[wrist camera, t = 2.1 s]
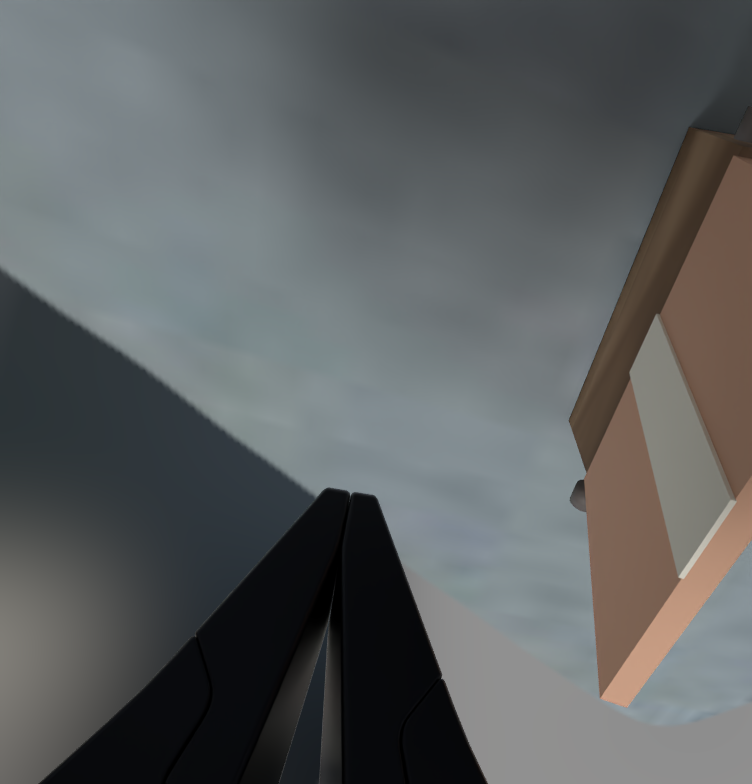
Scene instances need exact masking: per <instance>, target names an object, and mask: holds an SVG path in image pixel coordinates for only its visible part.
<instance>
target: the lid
mask: <svg viewBox="0 0 752 784" xmlns="http://www.w3.org/2000/svg"><path fill="white" fill-rule="evenodd" d="M629 374H630V381H629V383H628V385H627V387H626V389H625V391H624V394H623V396H622V398H621V400H620V402H619V404H618V407H617V409H616V411H615V413H614V415H613V417H612V420H611V422H610V424H609V426H608V428H607V430H606V433H605V435H604V437H603V439H602V441H601V443H600V446H599V448H598V450H597V452H596V454H595V456H594V459H593V461H592V463H591V465H590V467H589V469H588V472H587V474H586V476H585V478H584V483H585V497H586V511H587V525H588V539H589V553H590V567H591V581H592V595H593V609H594V623H595V636H596V650H597V664H598V678H599V692H600V699H603V700H606V701H609V702H612V703H615V704H618V705H621V706H623V707H626V708H627V707H628V705H629V704H630V703H631V701H632V700H633V699H634V697H635V696H636V695H637V693H638V692H639V691H640V689H641V688H642V687H643V685H644V684H645V682H646V681H647V680H648V678H649V677H650V676H651V674H652V673H653V672H654V670H655V669H656V668H657V666H658V665H659V664H660V662H661V661H662V660H663V658H664V657H665V656H666V654H667V653H668V652H669V650H670V649H671V647H672V646H673V645H674V643H675V642H676V641H677V639H678V638H679V637H680V635H681V634H682V633H683V631H684V630H685V629H686V627H687V626H688V625H689V623H690V622H691V621H692V619H693V618H694V617H695V615H696V614H697V612H698V611H699V610H700V608H701V607H702V606H703V604H704V603H705V602H706V600H707V599H708V598H709V596H710V595H711V594H712V592H713V591H714V590H715V588H716V587H717V586H718V584H719V583H720V582H721V580H722V579H723V577H724V576H725V575H726V573H727V572H728V571H729V569H730V568H731V567H732V565H733V564H734V563H735V561H736V560H737V559H738V557H739V556H740V555H741V553H742V552H743V551H744V549H745V548H746V547H747V545H748V544H749V542H750V541H751V540H752V159H750V158H745V157H739V156H734V155H733V158H732V160H731V162H730V164H729V166H728V168H727V171H726V173H725V175H724V177H723V179H722V181H721V184H720V186H719V188H718V190H717V192H716V194H715V197H714V199H713V201H712V203H711V205H710V207H709V210H708V212H707V214H706V216H705V218H704V220H703V223H702V225H701V227H700V229H699V231H698V233H697V236H696V238H695V240H694V242H693V244H692V246H691V249H690V251H689V253H688V255H687V257H686V259H685V262H684V264H683V266H682V268H681V270H680V272H679V275H678V277H677V279H676V281H675V283H674V285H673V288H672V290H671V292H670V294H669V296H668V298H667V301H666V303H665V305H664V307H663V309H662V311H661V313H660V314H656V315H655V317H654V320H653V322H652V324H651V326H650V328H649V331H648V333H647V335H646V337H645V339H644V342H643V344H642V346H641V348H640V350H639V352H638V355H637V357H636V359H635V361H634V363H633V366H632V368H631V370H630V372H629Z"/></svg>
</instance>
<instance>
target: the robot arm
mask: <svg viewBox="0 0 752 784" xmlns="http://www.w3.org/2000/svg"><path fill="white" fill-rule="evenodd" d="M349 501H350V502H349ZM333 593H334V595H333ZM332 599H333V601H332ZM331 604H332V609H331ZM330 610H331V614H330ZM329 615H330V621H329V630H328V641H327V658H326V676H325V694H324V711H323V728H322V745H321V763H320V781H319V784H488V783H487V781H486V779H485V777H484V774H483V772H482V770H481V768H480V766H479V764H478V762H477V759H476V757H475V755H474V753H473V751H472V749H471V747H470V745H469V742H468V740H467V737H466V735H465V732H464V730H463V727H462V725H461V722H460V720H459V717H458V715H457V712H456V710H455V707H454V705H453V702H452V699H451V697H450V694H449V691H448V688H447V686H446V683H445V681H444V680H443V679H441V677H442V673H441V671H440V668H439V665H438V662H437V659H436V657H435V654H434V651H433V648H432V646H431V643H430V640H429V638H428V635H427V633H426V629H425V627H424V624H423V622H422V619H421V616H420V613H419V610H418V608H417V605H416V602H415V600H414V597H413V594H412V591H411V589H410V586H409V583H408V581H407V578H406V575H405V572H404V570H403V567H402V564H401V562H400V559H399V556H398V553H397V551H396V548H395V545H394V543H393V540H392V537H391V534H390V532H389V529H388V526H387V524H386V521H385V518H384V515H383V513H382V510H381V507H380V504H379V502H378V499H377V498H376V497H375V496H374V495H369V494H363V493H358V492H354V493H352V494H351V497H350V493H349V492H348V491H346V490H340V489H334V488H326V489H324V490H323V491H322V492H321V493H320V495H319V496H318V497H317V498H316V499H315V500H314V502H312V503H311V505H310V506H309V507H308V508H307V509H306V510H305V511H304V512H303V513H302V515H301V516H300V517H299V518H298V519H297V520H296V521H295V522H294V524H293V525H292V526H291V527H290V528H289V529H288V530H287V531H286V532H285V534H284V535H283V536H282V537H281V538H280V539H279V540H278V541H277V542H276V544H275V545H274V546H273V547H272V548H271V549H270V550H269V551H268V552H267V553H266V554H265V556H264V557H263V558H262V559H261V560H260V561H259V562H258V563H257V565H256V566H255V567H254V568H253V569H252V570H251V571H250V572H249V573H248V574H247V576H246V577H245V578H244V579H243V580H242V581H241V582H240V583H239V584H238V586H237V587H236V588H235V589H234V590H233V591H232V592H231V593H230V594H229V596H228V597H227V598H226V599H225V600H224V601H223V602H222V603H221V604H220V605H219V607H218V608H217V609H216V610H215V611H214V612H213V613H212V614H211V616H210V617H209V618H208V619H207V620H206V621H205V622H204V623H203V624H202V625H201V627H200V628H199V629H198V630H197V631H196V632H195V637H194V636H192V637H191V638H189V640H188V641H187V642H186V643H185V644H184V645H183V646H182V647H181V648H180V650H179V651H178V652H177V653H176V654H175V655H174V656H173V657H172V658H171V659H170V661H169V662H168V663H167V664H166V665H165V666H164V667H163V668H162V669H161V670H160V671H159V672H158V673H157V674H156V675H155V676H154V677H153V678H152V679H151V680H150V681H149V682H148V684H146V686H145V687H144V688H143V689H142V690H140V691H139V692H138V693H137V694H136V695H135V696H134V697H133V698H132V699H131V700H130V701H129V702H128V703H127V704H126V705H125V706H124V707H122V709H120V710H119V711H118V712H117V713H116V714H115V715H114V716H113V717H112V718H111V719H110V720H109V721H108V722H106V723H105V725H103V726H102V727H101V728H100V729H99V730H98V731H96V732H95V733H94V734H93V735H92V736H91V737H90V738H89V739H88V740H86V741H85V742H84V743H83V744H82V745H81V746H80V747H79V748H78V749H76V750H75V751H74V752H73V753H72V754H71V755H70V756H69V757H67V758H66V759H65V760H64V761H63V762H62V763H61V764H60V765H59V766H58V767H57V768H56V769H54V770H53V771H52V772H51V773H50V774H49V775H47V776H46V777H45V778H44V779H43V780H42V781H41V782H40V783H39V784H279V781H280V777H281V775H282V771H283V768H284V765H285V762H286V758H287V755H288V752H289V749H290V746H291V742H292V739H293V736H294V733H295V729H296V726H297V723H298V720H299V716H300V713H301V710H302V707H303V704H304V700H305V697H306V694H307V691H308V687H309V684H310V681H311V677H312V674H313V671H314V668H315V665H316V662H317V658H318V655H319V652H320V649H321V645H322V642H323V639H324V635H325V631H326V628H327V624H328V620H329Z"/></svg>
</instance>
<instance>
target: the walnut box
mask: <svg viewBox="0 0 752 784" xmlns="http://www.w3.org/2000/svg"><path fill="white" fill-rule="evenodd" d="M733 155H734V156H739V157H745V158H750V159H752V107H750V106H748V108H747V110H746V112H745V114H744V116H743V119H742V121H741V123H740V125H739V127H738V130H737V132H736V134H735V135H733V134H727V133H721V132H715V131H709V130H703V129H698V128H692V127H689V129H688V131H687V134H686V136H685V139H684V141H683V144H682V146H681V149H680V151H679V153H678V156H677V158H676V161H675V163H674V166H673V168H672V170H671V173H670V175H669V178H668V180H667V183H666V185H665V188H664V190H663V192H662V195H661V197H660V200H659V202H658V205H657V207H656V209H655V212H654V214H653V217H652V219H651V222H650V224H649V227H648V229H647V231H646V234H645V236H644V239H643V241H642V244H641V246H640V248H639V251H638V253H637V256H636V258H635V261H634V263H633V266H632V268H631V270H630V273H629V275H628V278H627V280H626V283H625V285H624V287H623V290H622V292H621V295H620V297H619V300H618V302H617V305H616V307H615V309H614V312H613V314H612V317H611V319H610V322H609V324H608V326H607V329H606V331H605V334H604V336H603V339H602V341H601V344H600V346H599V348H598V351H597V353H596V356H595V358H594V361H593V363H592V365H591V368H590V370H589V373H588V375H587V378H586V380H585V383H584V385H583V387H582V390H581V392H580V395H579V397H578V400H577V402H576V404H575V407H574V409H573V412H572V414H571V417H570V419H569V422H570V425H571V428H572V431H573V434H574V437H575V440H576V443H577V446H578V449H579V452H580V455H581V458H582V461H583V464H584V467H585V470H586V473H587V472H588V469H589V467H590V465H591V463H592V461H593V459H594V456H595V454H596V452H597V450H598V448H599V446H600V443H601V441H602V439H603V437H604V435H605V433H606V430H607V428H608V426H609V424H610V422H611V420H612V417H613V415H614V413H615V411H616V409H617V407H618V404H619V402H620V400H621V398H622V396H623V394H624V391H625V389H626V387H627V385H628V383H629V381H630V374H629V372H630V370H631V368H632V366H633V363H634V361H635V359H636V357H637V355H638V352H639V350H640V348H641V346H642V344H643V342H644V339H645V337H646V335H647V333H648V331H649V328H650V326H651V324H652V322H653V320H654V317H655V315H656V314H660V313H661V311H662V309H663V307H664V305H665V303H666V301H667V298H668V296H669V294H670V292H671V290H672V288H673V285H674V283H675V281H676V279H677V277H678V275H679V272H680V270H681V268H682V266H683V264H684V262H685V259H686V257H687V255H688V253H689V251H690V249H691V246H692V244H693V242H694V240H695V238H696V236H697V233H698V231H699V229H700V227H701V225H702V223H703V220H704V218H705V216H706V214H707V212H708V210H709V207H710V205H711V203H712V201H713V199H714V197H715V194H716V192H717V190H718V188H719V186H720V184H721V181H722V179H723V177H724V175H725V173H726V171H727V168H728V166H729V164H730V162H731V160H732V158H733ZM570 502H571V504H572V505H573V506H574V507H575V508H577V509H578V510H580V511H583V512H587V511H586V497H585V483H584V480H579V481H578V482H577V484H576V486H575V488H574V490H573V492H572V495H571V497H570Z"/></svg>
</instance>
